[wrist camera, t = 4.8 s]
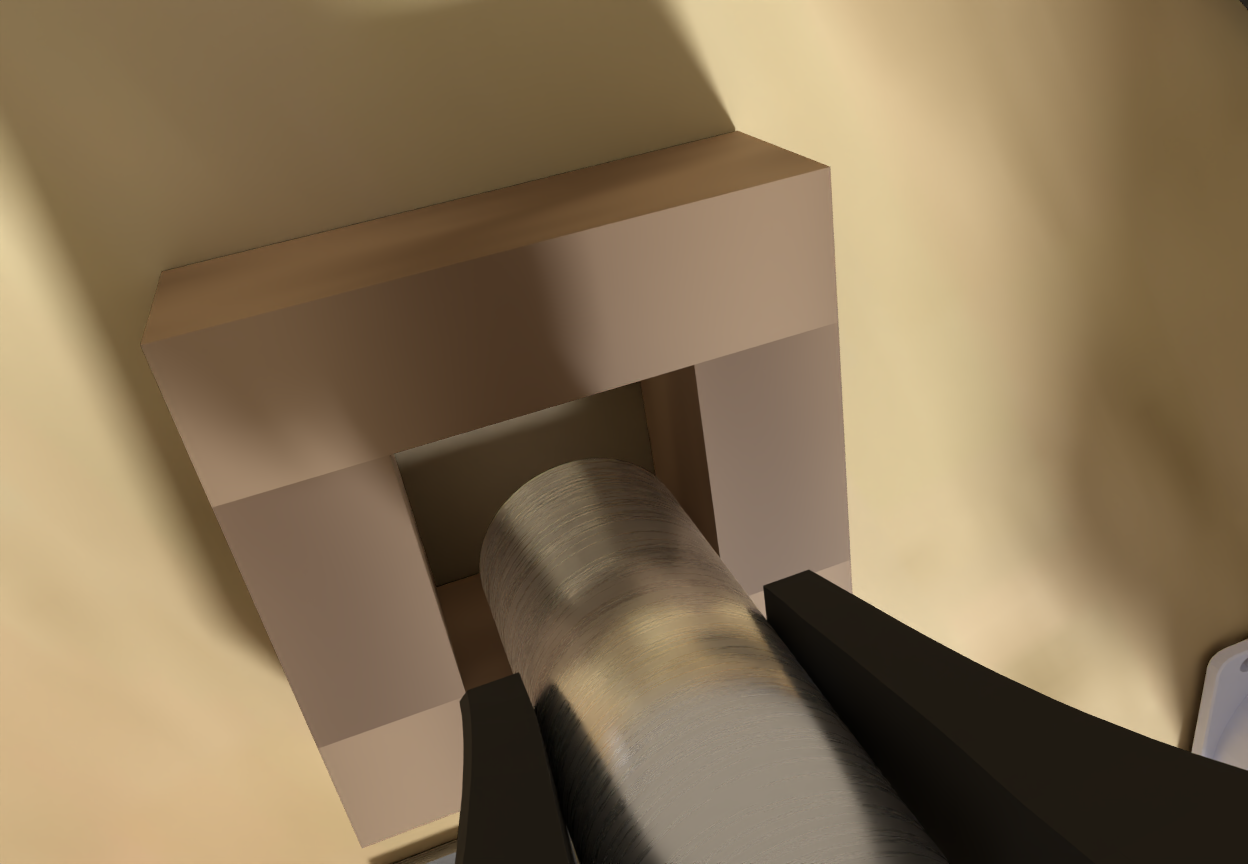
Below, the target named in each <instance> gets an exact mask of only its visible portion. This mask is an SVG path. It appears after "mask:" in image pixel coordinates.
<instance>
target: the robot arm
mask: <svg viewBox="0 0 1248 864" xmlns="http://www.w3.org/2000/svg"><path fill="white" fill-rule="evenodd" d="M763 590H764V600H765V609H766V618H767V621H768V622H769V624H770V625H771V626H772V628H773V629H774V630H775V632H776V633H777V634H778V636H779V637H780V638H781V640H782V641H783V642H784V644H785V645H786V646H787V648H788V649H789V650H790V652H791V653H792V654H793V656H794V657H795V658H796V660H797V661H798V662H799V664H800V665H801V666H802V668H803V669H804V670H805V672H806V673H807V674H808V676H809V677H810V678H811V680H812V681H813V682H814V684H815V685H816V686H817V687H818V689H819V690H820V691H821V693H822V694H823V695H824V697H825V698H826V699H827V701H828V702H829V703H830V705H831V706H832V707H833V709H834V710H835V711H836V713H837V714H838V715H839V717H840V718H841V719H842V721H843V722H844V723H845V725H846V726H847V727H848V729H849V730H850V731H851V733H852V734H853V735H854V737H855V738H856V739H857V741H858V742H859V743H860V745H861V746H862V747H863V749H864V750H865V751H866V753H867V754H868V755H869V757H870V758H871V759H872V761H873V762H874V763H875V765H876V766H877V767H878V769H879V770H880V771H881V773H882V774H883V775H884V776H885V778H886V779H887V780H888V782H889V783H890V784H891V786H892V787H893V788H894V790H895V791H896V792H897V794H898V795H899V796H900V798H901V799H902V800H903V802H904V803H905V804H906V806H907V807H908V808H909V810H910V811H911V812H912V814H913V815H914V816H915V818H916V819H917V820H918V822H919V823H920V824H921V826H922V827H923V828H924V830H925V831H926V832H927V834H928V835H929V836H930V838H931V839H932V840H933V842H934V843H935V844H936V846H937V847H938V848H939V850H940V851H941V852H942V854H943V855H944V856H945V858H946V859H947V860H948V862H949V863H950V864H1248V639H1246V640H1243V641H1241V642H1238V643H1236V644H1234V645H1231V646H1229V647H1226V648H1224V649H1222V650H1220V651H1218V652H1217V653H1216V654H1215V655H1214V656H1213V657H1212V658H1211V660H1210V661H1209V663H1208V666H1207V671H1206V676H1205V682H1204V687H1203V692H1202V698H1201V703H1200V709H1199V714H1198V719H1197V725H1196V730H1195V735H1194V741H1193V746H1192V751H1191V752H1188V751H1186V750H1183V749H1180V748H1177V747H1174V746H1171V745H1168V744H1165V743H1163V742H1160V741H1157V740H1154V739H1151V738H1149V737H1146V736H1144V735H1141V734H1139V733H1136V732H1133V731H1131V730H1128V729H1126V728H1123V727H1121V726H1118V725H1115V724H1113V723H1110V722H1108V721H1105V720H1102V719H1100V718H1097V717H1095V716H1092V715H1090V714H1087V713H1085V712H1082V711H1080V710H1078V709H1075V708H1073V707H1071V706H1068V705H1066V704H1063V703H1061V702H1059V701H1057V700H1054V699H1052V698H1050V697H1048V696H1046V695H1043V694H1041V693H1039V692H1037V691H1035V690H1033V689H1031V688H1028V687H1026V686H1024V685H1022V684H1020V683H1018V682H1015V681H1013V680H1011V679H1009V678H1007V677H1005V676H1003V675H1000V674H998V673H996V672H994V671H992V670H990V669H988V668H986V667H984V666H982V665H980V664H978V663H976V662H974V661H972V660H970V659H969V658H967V657H965V656H963V655H961V654H959V653H957V652H955V651H953V650H952V649H950V648H948V647H946V646H944V645H942V644H940V643H938V642H936V641H935V640H933V639H931V638H929V637H927V636H925V635H923V634H922V633H920V632H918V631H916V630H914V629H913V628H911V627H909V626H907V625H905V624H904V623H902V622H900V621H898V620H897V619H895V618H893V617H891V616H890V615H888V614H886V613H884V612H882V611H881V610H879V609H877V608H875V607H874V606H872V605H870V604H869V603H867V602H865V601H863V600H862V599H860V598H858V597H856V596H855V595H853V594H851V593H849V592H848V591H846V590H844V589H843V588H841V587H839V586H837V585H836V584H834V583H832V582H830V581H829V580H827V579H825V578H823V577H822V576H820V575H818V574H816V573H814V572H813V571H811V570H806V571H803V572H800V573H797V574H795V575H792V576H789V577H786V578H783V579H780V580H778V581H775V582H772V583H769V584H766V585H763ZM459 702H460V709H461V715H462V726H463V780H462V798H461V808H460V819H459V829H458V839H457V850H456V858H455V864H577V860H576V857H575V853H574V850H573V846H572V842H571V839H570V835H569V832H568V829H567V826H566V823H565V820H564V817H563V813H562V809H561V806H560V802H559V798H558V794H557V790H556V786H555V782H554V777H553V774H552V770H551V767H550V763H549V759H548V756H547V752H546V749H545V745H544V741H543V738H542V734H541V731H540V727H539V723H538V720H537V716H536V714H535V711H534V708H533V706H532V703H531V701H530V698H529V696H528V693H527V691H526V688H525V686H524V683H523V681H522V678H521V676H520V673H519V672H518V673H515V674H512V675H509V676H506V677H504V678H501V679H498V680H495V681H492V682H489V683H487V684H484V685H481V686H478V687H475V688H472V689H470V690H467V691H466V693H465V694H464V695H463V697H462V698H461V700H460V701H459Z"/></svg>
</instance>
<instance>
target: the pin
mask: <svg viewBox="0 0 1248 864" xmlns="http://www.w3.org/2000/svg"><path fill="white" fill-rule="evenodd" d="M479 565H480V578H481V582H482V586H483V590H484V592H485V595H486V598H487V601H488V604H489V607H490V610H491V612H492V615H493V618H494V621H495V624H496V627H497V630H498V632H499V635H500V638H501V641H502V644H503V647H504V649H505V652H506V655H507V658H508V661H509V664H510V667H511V669H512V672H513V674H515V673H518V672H519V673H520V676H521V678H522V681H523V683H524V686H525V688H526V691H527V693H528V696H529V698H530V701H531V703H532V706H533V708H534V711H535V714H536V716H537V720H538V723H539V727H540V731H541V734H542V738H543V741H544V745H545V749H546V752H547V756H548V759H549V763H550V767H551V770H552V774H553V777H554V782H555V786H556V790H557V794H558V798H559V802H560V806H561V809H562V813H563V817H564V820H565V823H566V826H567V829H568V832H569V835H570V838H571V840H572V843H573V846H574V849H575V852H576V855H577V858H578V860H579V863H580V864H950V863H949V862H948V860H947V859H946V858H945V856H944V855H943V854H942V852H941V851H940V850H939V848H938V847H937V846H936V844H935V843H934V842H933V840H932V839H931V838H930V836H929V835H928V834H927V832H926V831H925V830H924V828H923V827H922V826H921V824H920V823H919V822H918V820H917V819H916V818H915V816H914V815H913V814H912V812H911V811H910V810H909V808H908V807H907V806H906V804H905V803H904V802H903V800H902V799H901V798H900V796H899V795H898V794H897V792H896V791H895V790H894V788H893V787H892V786H891V784H890V783H889V782H888V780H887V779H886V778H885V776H884V775H883V774H882V773H881V771H880V770H879V769H878V767H877V766H876V765H875V763H874V762H873V761H872V759H871V758H870V757H869V755H868V754H867V753H866V751H865V750H864V749H863V747H862V746H861V745H860V743H859V742H858V741H857V739H856V738H855V737H854V735H853V734H852V733H851V731H850V730H849V729H848V727H847V726H846V725H845V723H844V722H843V721H842V719H841V718H840V717H839V715H838V714H837V713H836V711H835V710H834V709H833V707H832V706H831V705H830V703H829V702H828V701H827V699H826V698H825V697H824V695H823V694H822V693H821V691H820V690H819V689H818V687H817V686H816V685H815V684H814V682H813V681H812V680H811V678H810V677H809V676H808V674H807V673H806V672H805V670H804V669H803V668H802V666H801V665H800V664H799V662H798V661H797V660H796V658H795V657H794V656H793V654H792V653H791V652H790V650H789V649H788V648H787V646H786V645H785V644H784V642H783V641H782V640H781V638H780V637H779V636H778V634H777V633H776V632H775V630H774V629H773V628H772V626H771V625H770V624H769V622H768V621H767V620H766V618H765V617H764V616H763V614H762V613H761V612H760V610H759V609H758V608H757V606H756V605H755V604H754V602H753V601H752V600H751V598H750V597H749V596H748V595H747V593H746V592H745V591H744V589H743V588H742V587H741V585H740V584H739V583H738V581H737V580H736V579H735V577H734V576H733V575H732V573H731V572H730V571H729V569H728V568H727V567H726V565H725V564H724V563H723V561H722V560H721V559H720V557H719V556H718V555H717V553H716V552H715V551H714V549H713V548H712V547H711V545H710V544H709V543H708V541H707V540H706V539H705V537H704V536H703V535H702V533H701V532H700V531H699V529H698V528H697V527H696V525H695V524H694V523H693V521H692V520H691V519H690V517H689V516H688V515H687V513H686V512H685V511H684V509H683V508H682V507H681V505H680V504H679V503H678V502H677V500H676V499H675V498H674V496H673V495H672V494H671V492H670V491H669V490H668V488H667V487H666V486H665V485H664V484H663V483H662V482H661V481H660V480H659V479H658V478H657V477H656V476H654V475H653V474H652V473H650V472H649V471H647V470H645V469H644V468H642V467H640V466H637V465H635V464H632V463H629V462H625V461H621V460H617V459H607V458H590V459H583V460H576V461H573V462H569V463H565V464H562V465H559V466H557V467H554V468H552V469H549V470H547V471H545V472H543V473H541V474H539V475H538V476H536V477H534V478H533V479H531V480H530V481H528V482H527V483H525V484H524V485H523V486H522V487H520V488H519V489H518V490H517V491H516V492H515V493H513V494H512V495H511V497H510V498H509V499H508V500H507V501H506V502H505V503H504V504H503V505H502V507H501V508H500V509H499V511H498V512H497V514H496V515H495V517H494V518H493V520H492V522H491V524H490V526H489V527H488V530H487V532H486V535H485V537H484V540H483V544H482V548H481V553H480V564H479Z"/></svg>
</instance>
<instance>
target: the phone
mask: <svg viewBox="0 0 1248 864" xmlns="http://www.w3.org/2000/svg"><path fill="white" fill-rule="evenodd" d="M1240 2H1241V3H1242V4H1243V5H1244V6H1245V7H1246V8H1247V10H1248V0H1240Z"/></svg>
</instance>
